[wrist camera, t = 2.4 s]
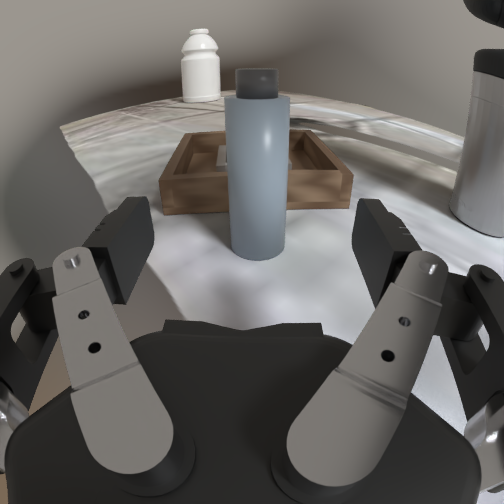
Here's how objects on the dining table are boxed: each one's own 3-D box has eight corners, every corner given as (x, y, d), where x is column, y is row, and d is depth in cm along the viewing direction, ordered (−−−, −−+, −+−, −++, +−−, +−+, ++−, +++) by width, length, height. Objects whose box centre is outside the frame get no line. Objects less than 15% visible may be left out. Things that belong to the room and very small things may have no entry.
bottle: (197, 97, 111) (194, 32, 95) (227, 97, 106) (225, 28, 90) (175, 103, 101) (171, 31, 85) (207, 103, 96) (204, 26, 80)
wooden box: (309, 152, 47) (310, 130, 45) (348, 208, 31) (353, 174, 29) (187, 156, 46) (185, 133, 44) (164, 215, 31) (158, 180, 28)
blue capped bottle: (280, 229, 28) (284, 68, 20) (288, 259, 24) (296, 70, 16) (231, 231, 28) (224, 69, 20) (231, 261, 24) (222, 70, 16)
